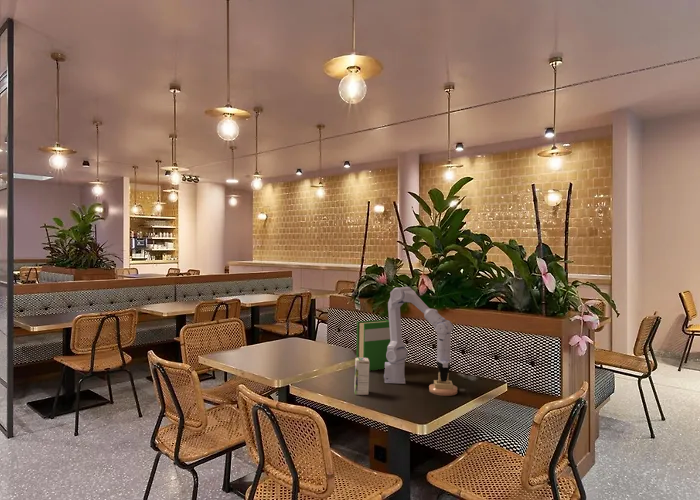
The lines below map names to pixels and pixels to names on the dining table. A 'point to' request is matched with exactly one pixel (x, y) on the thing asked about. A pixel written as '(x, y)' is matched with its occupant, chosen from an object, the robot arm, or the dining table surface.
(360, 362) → the syrup box
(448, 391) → the tan rounded piece
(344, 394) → the dining table surface
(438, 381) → the tall wooden block
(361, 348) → the hardback book
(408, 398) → the dining table surface
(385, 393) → the dining table surface
